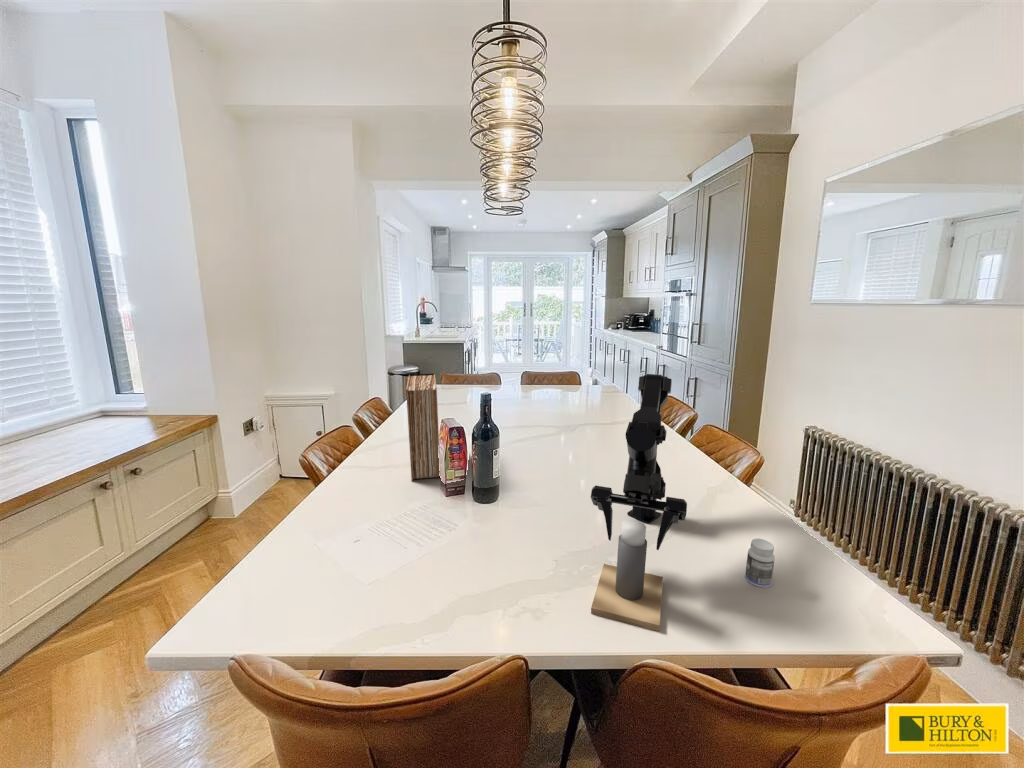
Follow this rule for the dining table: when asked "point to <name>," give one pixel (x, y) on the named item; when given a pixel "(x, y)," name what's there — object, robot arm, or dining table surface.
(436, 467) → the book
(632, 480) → the robot arm
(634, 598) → the pepper mill
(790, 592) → the dining table surface
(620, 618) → the serving board
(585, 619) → the dining table surface
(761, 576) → the pill bottle
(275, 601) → the dining table surface
